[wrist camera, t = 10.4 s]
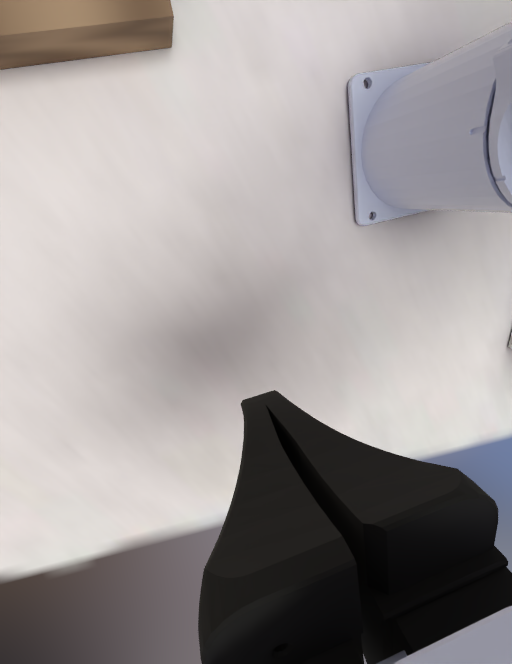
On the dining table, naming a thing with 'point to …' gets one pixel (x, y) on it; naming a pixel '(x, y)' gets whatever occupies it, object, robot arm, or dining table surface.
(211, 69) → the dining table surface
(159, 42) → the open wooden frame
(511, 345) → the tea box
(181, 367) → the dining table surface
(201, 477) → the dining table surface
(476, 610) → the robot arm
